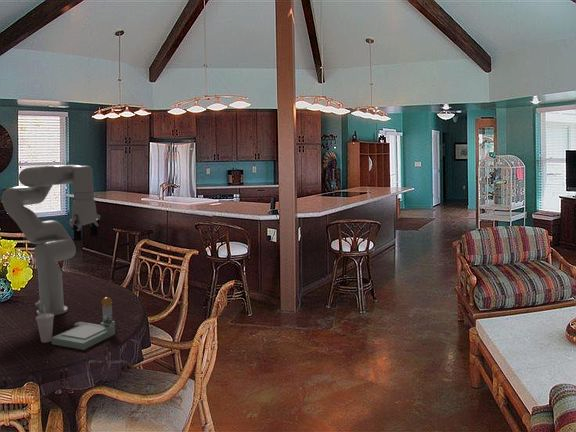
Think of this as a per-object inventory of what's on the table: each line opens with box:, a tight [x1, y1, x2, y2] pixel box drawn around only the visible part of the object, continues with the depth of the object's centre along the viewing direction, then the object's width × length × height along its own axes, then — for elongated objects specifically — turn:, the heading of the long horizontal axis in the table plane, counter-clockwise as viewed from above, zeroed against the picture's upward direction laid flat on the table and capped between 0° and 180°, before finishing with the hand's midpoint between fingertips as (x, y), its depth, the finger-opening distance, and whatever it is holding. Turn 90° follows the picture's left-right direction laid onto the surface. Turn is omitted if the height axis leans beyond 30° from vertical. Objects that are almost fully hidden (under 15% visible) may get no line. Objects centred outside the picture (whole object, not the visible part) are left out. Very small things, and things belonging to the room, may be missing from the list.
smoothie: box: [35, 305, 55, 343], centre depth 200 cm, size 6×6×14 cm
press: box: [51, 321, 116, 351], centre depth 206 cm, size 22×21×3 cm
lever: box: [100, 296, 116, 328], centre depth 211 cm, size 4×4×12 cm
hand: (86, 238), depth 217 cm, fingers open, 9 cm apart
